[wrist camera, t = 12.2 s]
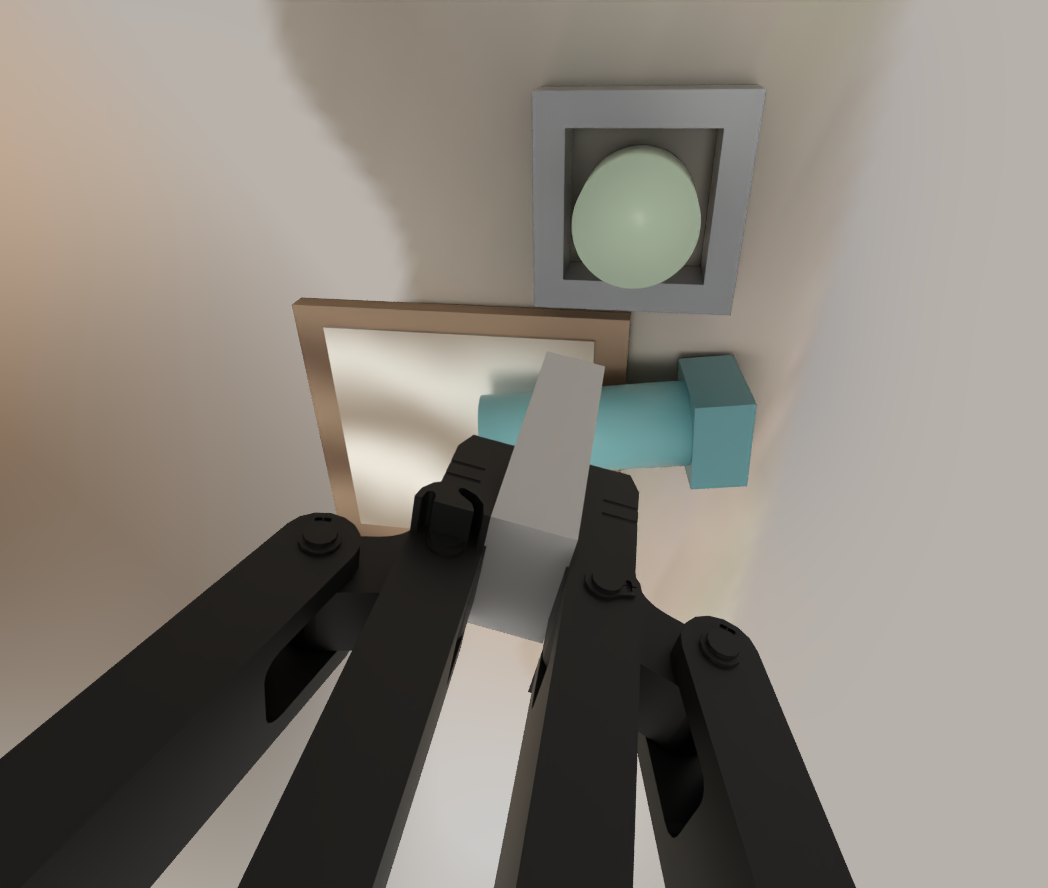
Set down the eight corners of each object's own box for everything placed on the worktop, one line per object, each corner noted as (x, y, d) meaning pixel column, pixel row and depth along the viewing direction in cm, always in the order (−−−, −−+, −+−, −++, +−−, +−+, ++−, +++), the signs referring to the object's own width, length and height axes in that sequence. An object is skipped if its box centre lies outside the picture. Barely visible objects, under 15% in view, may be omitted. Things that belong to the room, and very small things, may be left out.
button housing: (542, 86, 25) (532, 90, 23) (757, 84, 24) (766, 89, 22) (543, 287, 29) (534, 306, 27) (725, 294, 28) (730, 315, 26)
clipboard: (301, 297, 32) (286, 308, 31) (630, 312, 29) (629, 324, 28) (362, 593, 42) (353, 610, 41) (608, 623, 40) (606, 642, 39)
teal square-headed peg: (473, 423, 27) (756, 404, 26) (482, 373, 30) (732, 354, 29) (487, 501, 29) (746, 486, 28) (494, 446, 33) (725, 431, 32)
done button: (582, 144, 24) (572, 157, 22) (703, 145, 23) (709, 158, 21) (578, 262, 26) (570, 286, 24) (689, 266, 26) (692, 291, 23)
